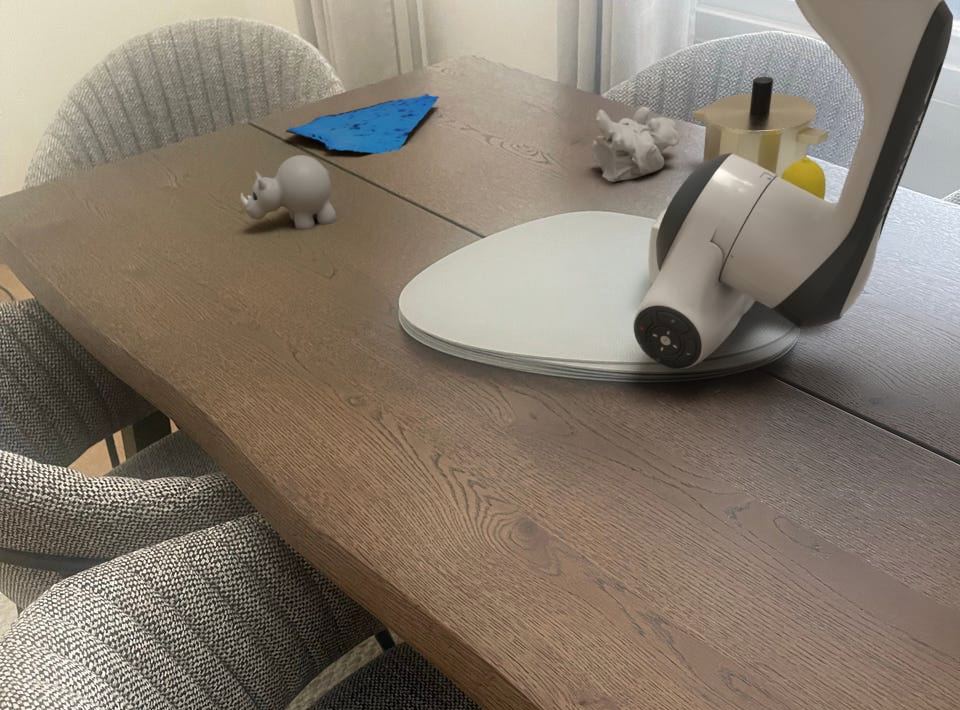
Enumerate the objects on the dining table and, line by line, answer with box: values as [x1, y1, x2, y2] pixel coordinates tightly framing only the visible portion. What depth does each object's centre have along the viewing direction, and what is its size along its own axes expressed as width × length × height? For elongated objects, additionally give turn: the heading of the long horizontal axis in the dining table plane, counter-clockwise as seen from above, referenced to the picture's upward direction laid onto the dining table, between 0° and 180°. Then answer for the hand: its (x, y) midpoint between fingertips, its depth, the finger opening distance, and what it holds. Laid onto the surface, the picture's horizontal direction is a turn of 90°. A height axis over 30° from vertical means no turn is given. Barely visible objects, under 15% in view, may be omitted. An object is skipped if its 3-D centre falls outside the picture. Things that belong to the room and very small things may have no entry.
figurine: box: [591, 106, 681, 183], centre depth 129 cm, size 8×10×12 cm
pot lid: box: [704, 76, 817, 135], centre depth 120 cm, size 14×14×5 cm
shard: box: [284, 93, 440, 155], centre depth 153 cm, size 25×24×2 cm
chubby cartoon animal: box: [240, 154, 338, 230], centre depth 127 cm, size 7×12×8 cm, turn 108°
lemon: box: [781, 156, 827, 200], centre depth 115 cm, size 6×6×8 cm
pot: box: [692, 106, 829, 178], centre depth 124 cm, size 13×18×8 cm
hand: (773, 213), depth 107 cm, fingers open, 8 cm apart
